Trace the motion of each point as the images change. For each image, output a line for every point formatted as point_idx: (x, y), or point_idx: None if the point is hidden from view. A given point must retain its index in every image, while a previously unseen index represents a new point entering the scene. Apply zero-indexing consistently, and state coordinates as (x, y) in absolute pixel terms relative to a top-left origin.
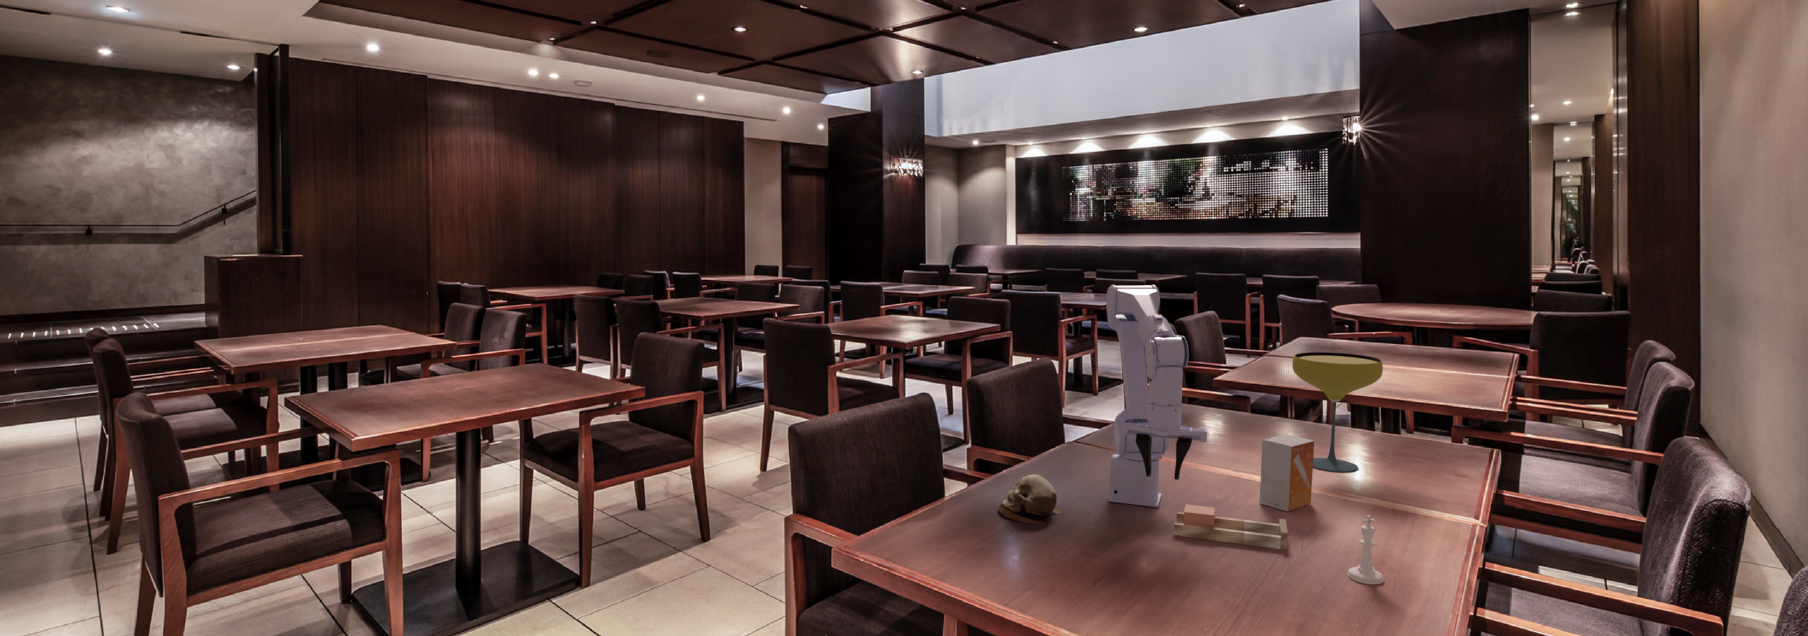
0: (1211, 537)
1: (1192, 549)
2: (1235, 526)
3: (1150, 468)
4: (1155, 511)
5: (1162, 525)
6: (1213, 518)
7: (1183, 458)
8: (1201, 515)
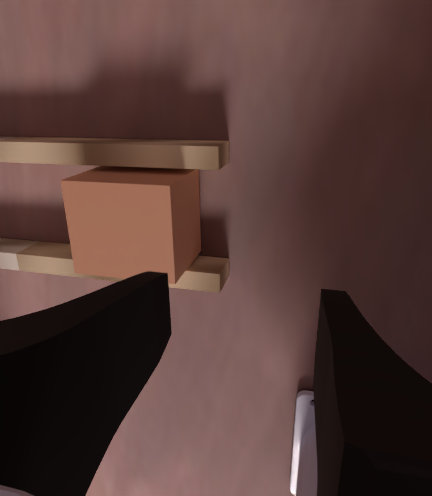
0: (103, 139)
1: (153, 9)
2: (50, 248)
3: (319, 341)
4: (304, 359)
5: (275, 231)
6: (69, 177)
7: (12, 318)
8: (106, 180)
